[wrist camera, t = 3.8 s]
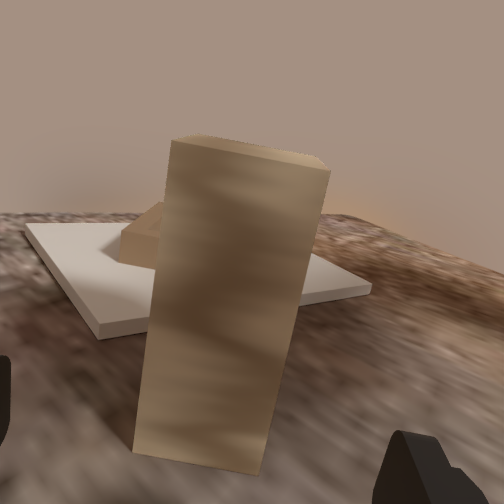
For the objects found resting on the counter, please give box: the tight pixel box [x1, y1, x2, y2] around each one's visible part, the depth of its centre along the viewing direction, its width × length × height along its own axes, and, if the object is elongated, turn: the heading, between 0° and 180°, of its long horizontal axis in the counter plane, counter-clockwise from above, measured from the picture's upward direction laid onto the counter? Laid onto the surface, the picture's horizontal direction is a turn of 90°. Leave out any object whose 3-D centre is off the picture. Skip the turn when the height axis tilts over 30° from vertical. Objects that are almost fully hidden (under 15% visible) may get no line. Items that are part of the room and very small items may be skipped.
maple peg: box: [132, 134, 331, 476], centre depth 18 cm, size 5×5×12 cm
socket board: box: [25, 202, 372, 340], centre depth 38 cm, size 24×18×4 cm
